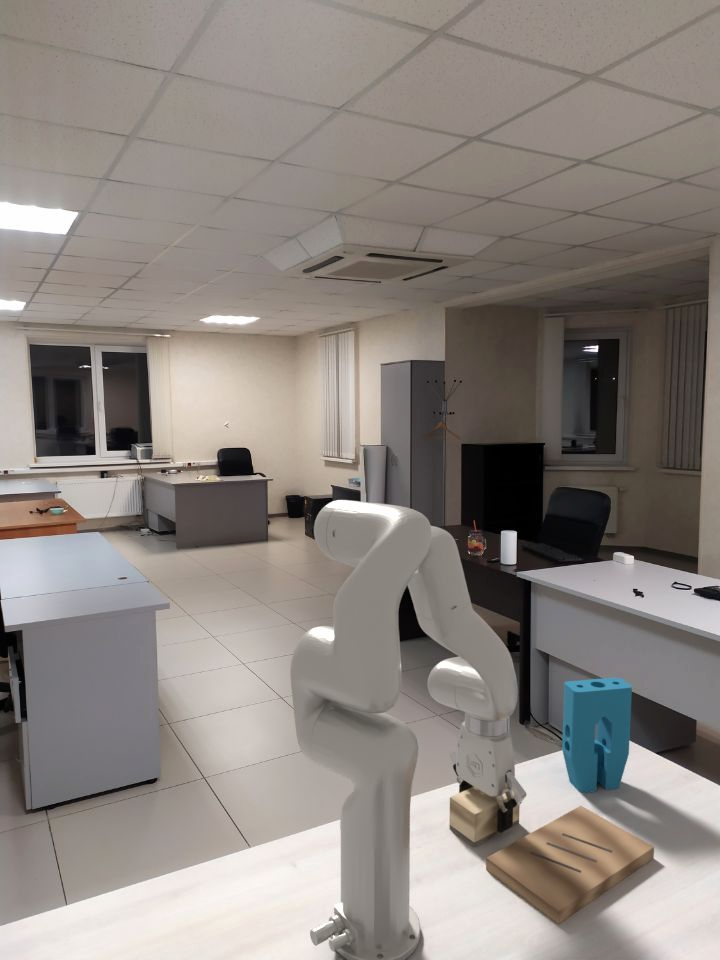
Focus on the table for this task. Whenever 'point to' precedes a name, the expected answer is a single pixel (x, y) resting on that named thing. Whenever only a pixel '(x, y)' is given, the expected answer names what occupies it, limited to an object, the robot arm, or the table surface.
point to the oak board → (569, 862)
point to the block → (611, 749)
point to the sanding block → (476, 816)
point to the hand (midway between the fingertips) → (485, 815)
